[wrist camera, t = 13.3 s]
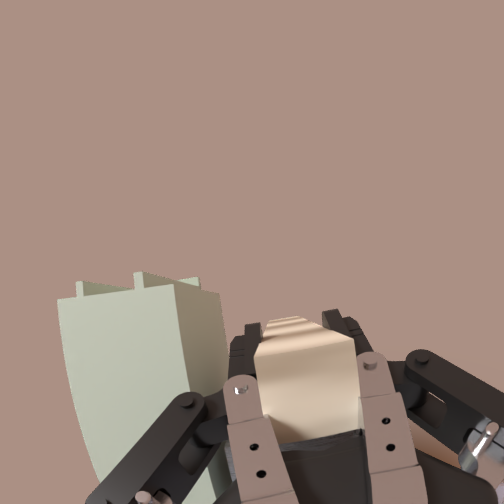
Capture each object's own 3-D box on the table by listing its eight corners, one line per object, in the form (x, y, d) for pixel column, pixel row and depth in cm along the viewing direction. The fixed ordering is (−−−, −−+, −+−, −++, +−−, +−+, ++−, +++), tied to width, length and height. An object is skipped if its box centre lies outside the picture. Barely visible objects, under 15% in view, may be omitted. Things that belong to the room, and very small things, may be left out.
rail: (362, 427, 8) (353, 339, 8) (268, 445, 8) (253, 357, 8) (302, 344, 29) (298, 316, 30) (273, 349, 29) (268, 320, 30)
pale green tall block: (255, 605, 11) (169, 249, 17) (165, 597, 12) (55, 270, 18) (262, 526, 26) (216, 275, 32) (195, 527, 26) (140, 286, 32)
